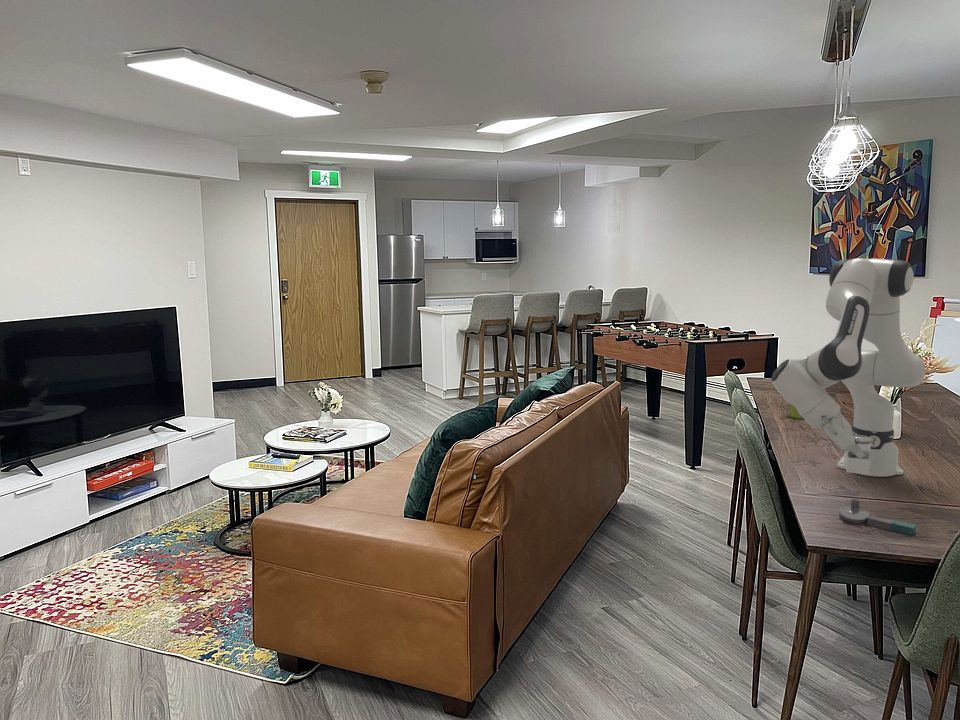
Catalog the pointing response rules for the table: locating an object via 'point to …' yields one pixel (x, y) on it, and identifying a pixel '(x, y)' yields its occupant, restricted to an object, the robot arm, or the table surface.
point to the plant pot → (794, 412)
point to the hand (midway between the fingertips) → (861, 452)
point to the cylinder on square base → (857, 463)
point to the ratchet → (873, 519)
